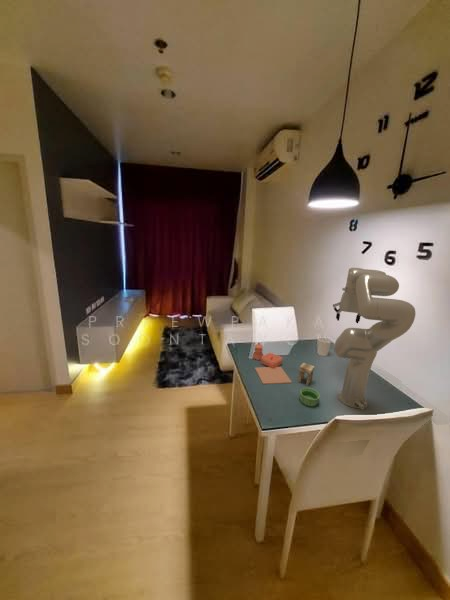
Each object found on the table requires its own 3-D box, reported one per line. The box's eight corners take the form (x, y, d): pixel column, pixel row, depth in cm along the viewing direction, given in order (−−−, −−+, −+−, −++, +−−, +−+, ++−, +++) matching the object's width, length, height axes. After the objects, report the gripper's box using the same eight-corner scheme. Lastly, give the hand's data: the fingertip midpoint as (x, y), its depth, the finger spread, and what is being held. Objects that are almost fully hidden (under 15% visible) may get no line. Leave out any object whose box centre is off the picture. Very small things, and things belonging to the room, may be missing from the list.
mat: (291, 383, 132) (291, 382, 132) (263, 384, 130) (263, 383, 129) (280, 367, 147) (280, 366, 147) (254, 368, 145) (254, 367, 145)
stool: (312, 381, 135) (314, 366, 133) (308, 386, 130) (311, 370, 128) (301, 377, 139) (303, 362, 136) (297, 381, 134) (299, 366, 132)
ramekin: (305, 408, 113) (306, 400, 112) (295, 396, 121) (296, 388, 120) (322, 406, 115) (323, 398, 114) (311, 394, 124) (312, 386, 122)
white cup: (322, 350, 174) (324, 337, 171) (331, 355, 166) (333, 342, 164) (313, 352, 171) (315, 338, 168) (321, 357, 164) (324, 343, 161)
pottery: (281, 363, 151) (283, 348, 149) (273, 368, 144) (274, 353, 142) (258, 354, 163) (259, 340, 161) (249, 358, 157) (250, 343, 154)
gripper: (336, 290, 131) (331, 321, 135) (372, 294, 127) (366, 325, 131) (334, 288, 138) (329, 317, 143) (368, 291, 134) (362, 321, 138)
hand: (347, 321), depth 137 cm, fingers open, 9 cm apart
